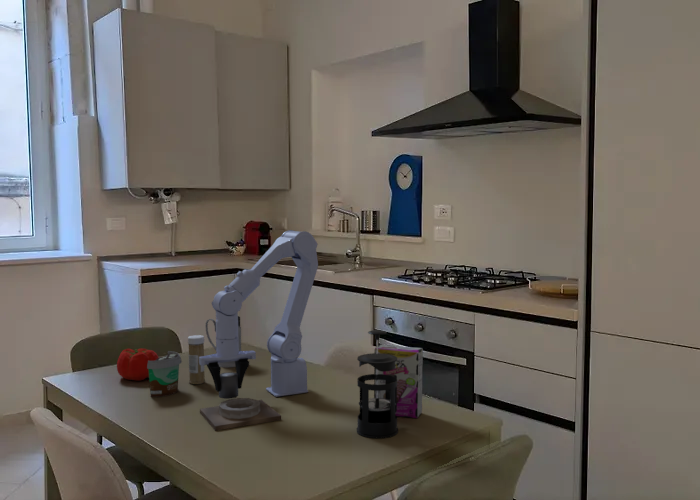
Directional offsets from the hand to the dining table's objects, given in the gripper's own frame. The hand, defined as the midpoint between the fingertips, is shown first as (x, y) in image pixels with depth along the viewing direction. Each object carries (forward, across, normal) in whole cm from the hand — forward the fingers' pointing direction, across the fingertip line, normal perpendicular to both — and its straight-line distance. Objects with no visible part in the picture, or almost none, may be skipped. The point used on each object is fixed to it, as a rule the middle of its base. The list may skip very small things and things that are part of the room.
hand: (228, 389), depth 171 cm
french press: (+3, -24, +37) cm, 44 cm away
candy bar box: (+4, -34, +29) cm, 45 cm away
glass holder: (+3, -10, -40) cm, 41 cm away
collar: (+3, +1, +13) cm, 13 cm away
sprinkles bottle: (+3, +3, -21) cm, 21 cm away
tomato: (+3, +17, -34) cm, 38 cm away
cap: (+2, 0, 0) cm, 2 cm away
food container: (+3, +12, -15) cm, 20 cm away
